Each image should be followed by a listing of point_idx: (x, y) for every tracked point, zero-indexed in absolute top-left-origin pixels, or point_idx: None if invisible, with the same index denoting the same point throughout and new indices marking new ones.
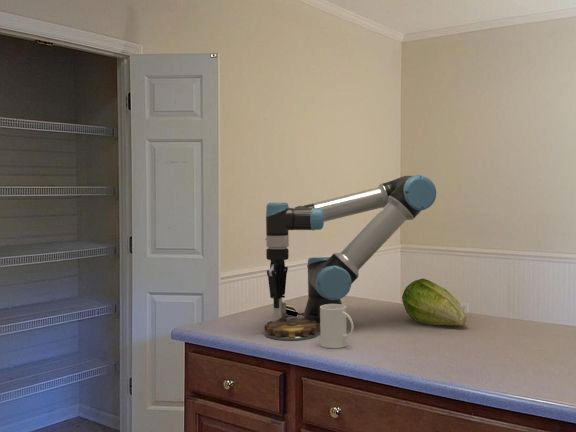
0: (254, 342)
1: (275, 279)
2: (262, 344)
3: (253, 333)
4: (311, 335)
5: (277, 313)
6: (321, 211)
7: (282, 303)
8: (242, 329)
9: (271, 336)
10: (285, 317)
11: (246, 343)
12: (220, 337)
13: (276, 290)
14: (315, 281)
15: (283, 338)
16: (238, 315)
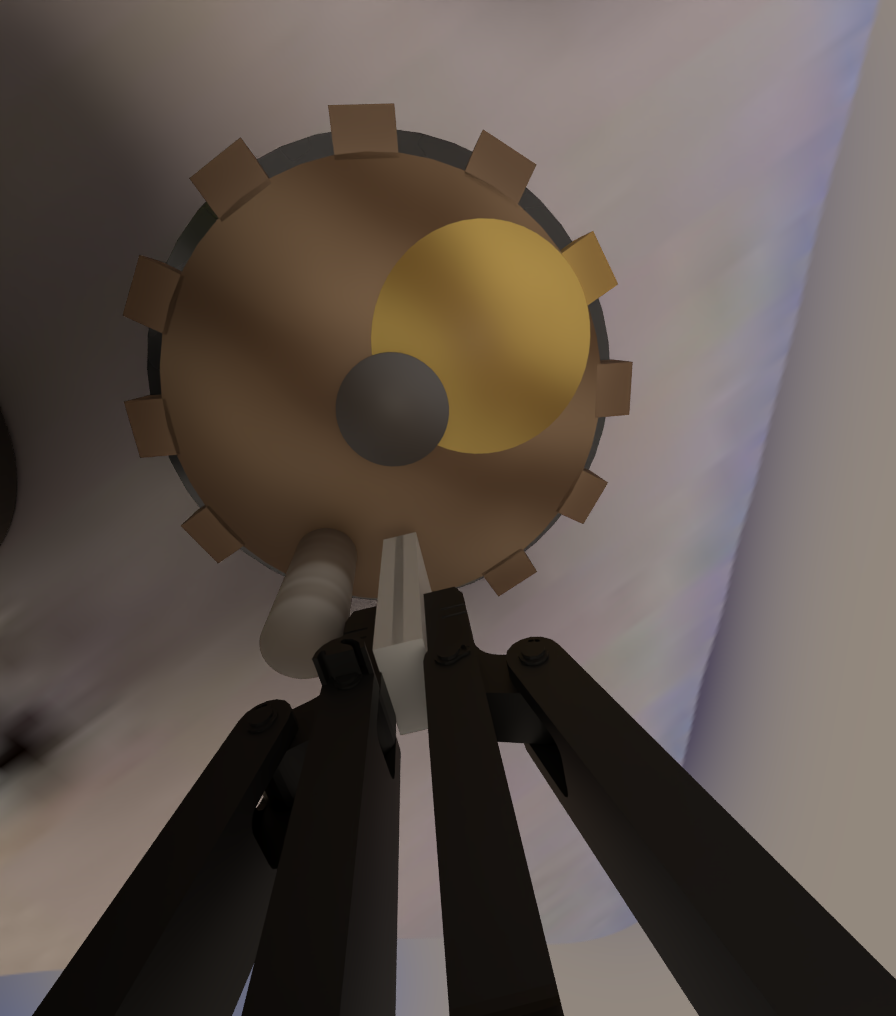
0: (709, 479)
1: (826, 964)
2: (733, 404)
3: (529, 616)
4: (431, 149)
5: (425, 578)
6: None
7: (295, 649)
8: None
9: (598, 442)
10: (323, 541)
11: (744, 505)
12: (682, 699)
13: (609, 711)
14: None
15: (605, 331)
16: None
